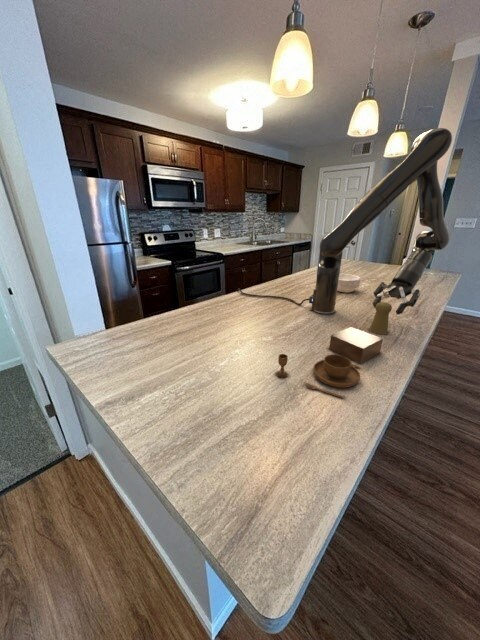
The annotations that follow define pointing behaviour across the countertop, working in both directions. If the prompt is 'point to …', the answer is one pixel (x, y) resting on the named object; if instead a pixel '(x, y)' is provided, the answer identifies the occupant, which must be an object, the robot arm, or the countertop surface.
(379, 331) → the cork
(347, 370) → the place setting
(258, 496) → the countertop surface
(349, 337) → the walnut block
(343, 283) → the paper bowls
